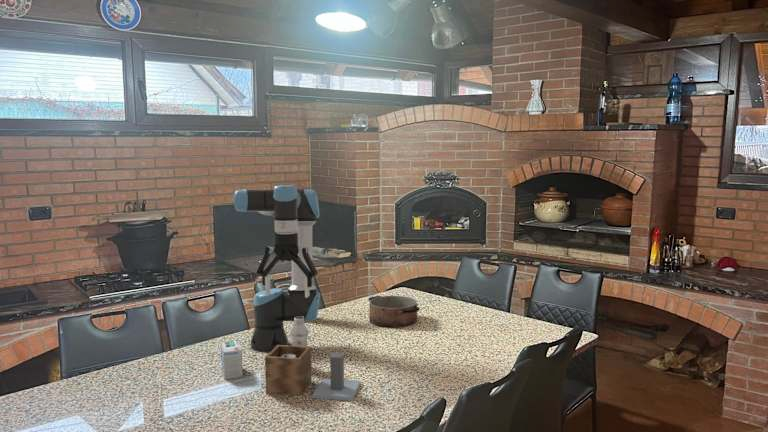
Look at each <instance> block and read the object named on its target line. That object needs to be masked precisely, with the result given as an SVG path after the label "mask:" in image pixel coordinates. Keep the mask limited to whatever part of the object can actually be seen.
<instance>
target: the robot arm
mask: <svg viewBox="0 0 768 432" xmlns="http://www.w3.org/2000/svg"><path fill="white" fill-rule="evenodd" d="M233 204H234V205H233V206H234V209H235V210H236V212H243V213H246V212H247V213H248V212H249V213H250V212H252V213H253V212H255V213H259V214H261V215H263V216H269V217H273V218H274V221H273V222H274V224H273V225H274V232H275V233H274V247H272V245H268V246H267V247H265V249H264V250H265V251H264V255H263V257H262V259H261V262H260V263H259V265H258V268H257V270H256V274H257V275H261V277H262V280H261V281H262V286H264V287H265V289H264V290H260V291H258V292H257V293H256V294H254V296H253V313H254V314H253V318H254V319H253V320H254V330H253V333H252V336H251V338H250V349H252V350H253V351H257V352H265V353H267V352H268V353H270V352H271V351H272V350H273V349H274V348H275V347H276V346H277V345H288V344H289V340H288V336H287V333H286V330H285V328H284V322H294V317H296V316H303V317H304V322H308V321H309V322H311V321H314V320H316V319H317V318H318V314H319V308H320V299H321V293H320V292H319V291H317V287H316V286H315V285H314V282H313V281H314V280H313V279H314V278H313V277H316V276H317V275H318V270H317V268H316V267H315V264H314V261H313V256H314V255H313V226H314V225H315V224H316V223H317V219H318V218H320V205H319V204H320V203H319V200H318V194H317V192H316V190H314V189H307V188H306V189H305V188H303V189H297V186H296V185H292V184H290V185H289V184H283V185H282V184H281V185H280V184H279V185H275V186H274V187H273V189H246V188H245V189H237V190H236V191H235V192H234V196H233ZM273 253H274V254H275V256H274V258H273V259H272V261H271V262H270V263H269V265H268V266H267V267H266V265H267V263H268V261H269V259H270V256H271V254H273ZM279 261H281V262H285V261H287V262H291V284H290V286H289V287H287V292H284V290H283V289H282V288H276V287H275V288H274V287H273V288H271V275H270V274H269V273H270V272H271V271H272V270H273V268H274V267H275V266H276V265H277V263H279ZM265 267H266V268H265ZM288 346H289V345H288Z"/></svg>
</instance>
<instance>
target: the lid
mask: <svg viewBox="0 0 768 432" xmlns="http://www.w3.org/2000/svg"><path fill="white" fill-rule="evenodd" d="M344 357H345V356H344V353H332V354H331V355H330V357H329V359H330V360H329V361H330V378H323V379H322V380H321V381H320V383H319V385H318V386H317V387H316V388H315V391H314V392H313V393H312V398H313V399H323V400H334V401H335V400H336V401H348V402H351V401H352V402H353V400H354V398H355V396H356V395H357V392H358V390H359V388H360V386H361V380H353V379H352V380H351V379H344V378H345V372H344V371H345V365H344V364H345V362H344V361H345V360H344Z"/></svg>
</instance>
